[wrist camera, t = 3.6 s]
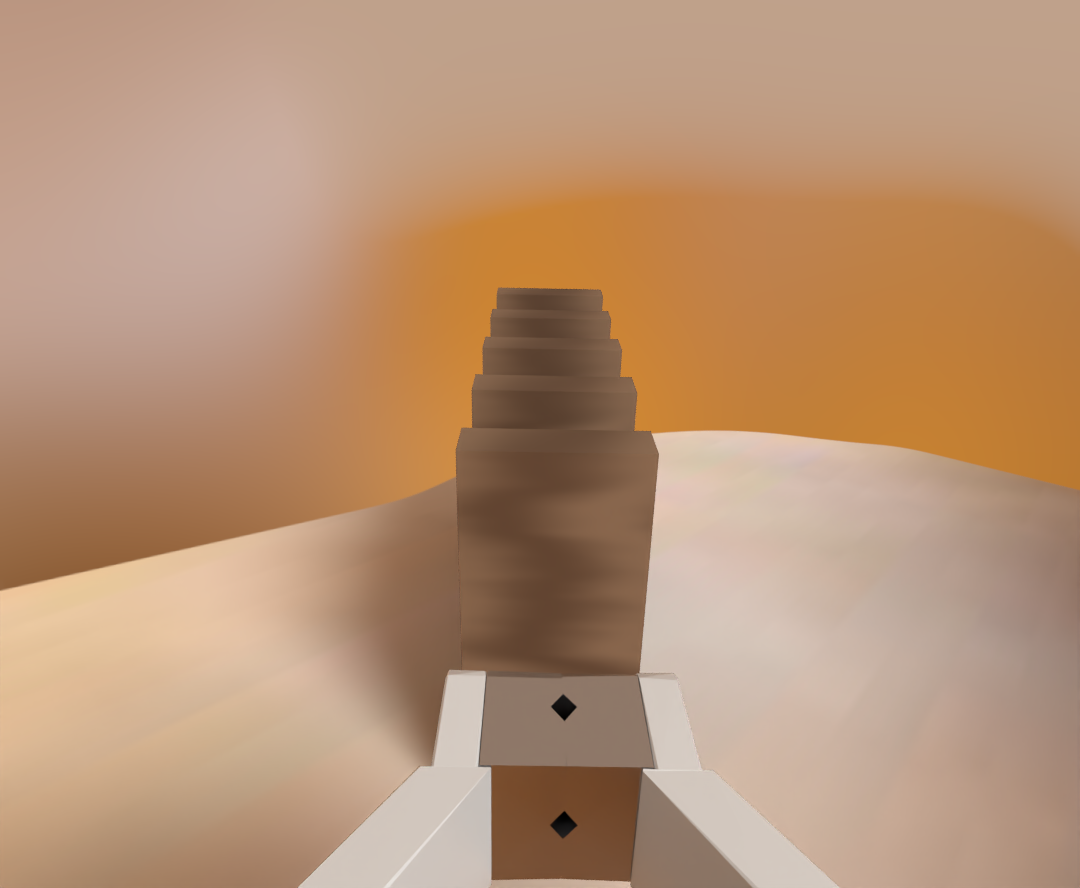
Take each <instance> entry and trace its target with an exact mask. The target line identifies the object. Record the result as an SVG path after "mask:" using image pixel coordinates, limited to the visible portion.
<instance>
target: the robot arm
mask: <svg viewBox="0 0 1080 888" xmlns="http://www.w3.org/2000/svg"><path fill="white" fill-rule="evenodd" d="M515 879H579V880H604V881H628V882H631V884H630V885H631V887H632V888H840V887H839V886H838V885H836V884H835V883H834V882H833V881H832V880H831V879H830V878H829V877H828V876H827V875H826V874H825V873H824V872H822V871H821V870H820V869H819V868H818V867H817V866H816V865H815V864H814V863H813V862H812V861H811V860H810V859H808V858H807V857H806V856H805V855H804V854H803V853H802V852H801V851H800V850H799V849H798V848H797V847H795V846H794V845H793V844H792V843H791V842H790V841H789V840H788V839H787V838H786V837H785V836H784V835H783V834H781V833H780V832H779V831H778V830H777V829H776V828H775V827H774V826H773V825H772V824H771V823H770V822H769V821H767V820H766V819H765V818H764V817H763V816H762V815H761V814H760V813H759V812H758V811H757V810H756V809H755V808H753V807H752V806H751V805H750V804H749V803H748V802H747V801H746V800H745V799H744V798H743V797H742V796H741V795H739V794H738V793H737V792H736V791H735V790H734V789H733V788H732V787H731V786H730V785H729V784H728V783H727V782H725V781H724V780H723V779H722V778H721V777H720V776H719V775H718V774H717V773H716V772H715V771H713V770H702V769H701V765H700V761H699V758H698V754H697V750H696V746H695V742H694V738H693V734H692V731H691V727H690V723H689V719H688V715H687V711H686V707H685V704H684V700H683V696H682V692H681V688H680V684H679V680H678V678H677V677H676V675H675V674H674V673H637V674H636V675H635V674H562V673H538V672H513V671H488V672H486V671H470V670H449V671H448V673H447V676H446V678H445V684H444V690H443V696H442V702H441V708H440V715H439V721H438V727H437V733H436V739H435V745H434V751H433V758H432V764H431V766H419V767H418V768H417V769H416V770H415V771H414V772H413V773H412V774H411V775H410V776H409V777H408V778H407V779H406V780H405V781H404V782H403V783H402V784H401V785H400V786H399V787H398V788H397V789H396V790H395V791H394V792H393V793H392V794H391V795H390V796H389V797H388V798H387V799H386V800H385V801H384V802H383V803H382V804H381V805H380V806H379V807H378V808H377V809H376V810H375V811H374V812H373V813H372V814H371V815H370V816H369V817H368V818H367V819H366V820H365V821H364V822H363V823H362V824H361V825H360V826H359V827H358V828H357V829H356V830H355V831H354V832H353V833H352V834H351V835H350V836H349V837H348V838H347V839H346V840H345V841H344V842H343V843H342V844H341V845H340V846H339V847H338V848H337V849H336V850H335V851H334V852H333V853H332V854H331V855H330V856H329V857H328V858H327V859H326V860H325V861H324V862H323V863H322V864H321V865H320V866H319V867H318V868H317V869H316V870H315V871H314V872H313V873H312V874H311V875H310V876H309V877H308V878H307V879H306V880H305V881H304V882H303V883H302V884H301V885H300V886H299V887H298V888H489V887H490V886H491V880H515Z"/></svg>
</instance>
